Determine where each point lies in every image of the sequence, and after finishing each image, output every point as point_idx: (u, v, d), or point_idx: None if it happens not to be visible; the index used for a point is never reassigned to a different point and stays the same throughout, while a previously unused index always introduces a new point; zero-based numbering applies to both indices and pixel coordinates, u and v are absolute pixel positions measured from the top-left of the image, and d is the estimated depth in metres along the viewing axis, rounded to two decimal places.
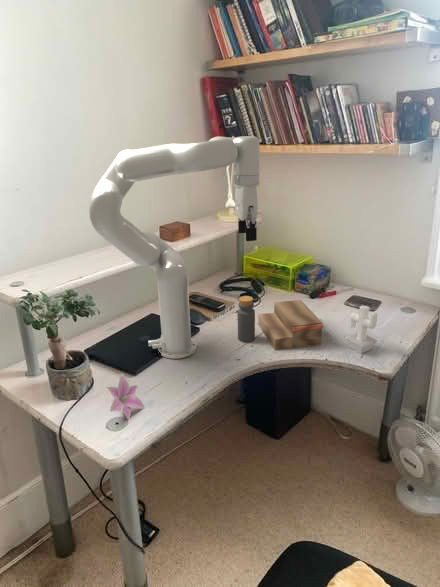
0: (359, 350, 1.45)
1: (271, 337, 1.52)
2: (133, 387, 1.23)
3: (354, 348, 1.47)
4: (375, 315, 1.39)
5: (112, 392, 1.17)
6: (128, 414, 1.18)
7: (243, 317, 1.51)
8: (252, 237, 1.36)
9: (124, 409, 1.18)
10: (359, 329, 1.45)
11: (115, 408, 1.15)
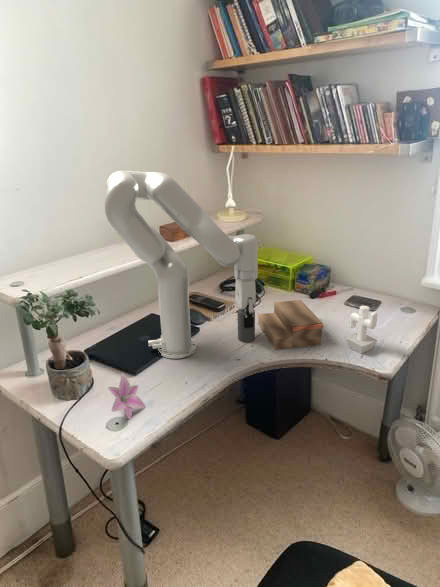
0: (359, 350, 1.45)
1: (271, 337, 1.52)
2: (134, 387, 1.23)
3: (354, 348, 1.47)
4: (375, 315, 1.39)
5: (113, 392, 1.17)
6: (129, 413, 1.18)
7: (243, 317, 1.51)
8: (249, 325, 1.50)
9: (125, 409, 1.18)
10: (359, 329, 1.45)
11: (116, 408, 1.15)
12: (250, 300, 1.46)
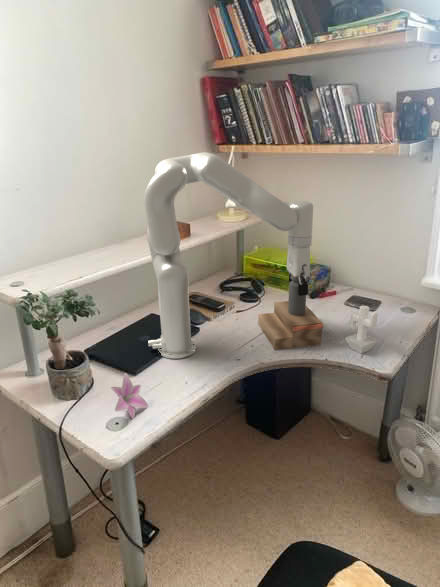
0: (359, 350, 1.45)
1: (271, 337, 1.52)
2: (136, 386, 1.23)
3: (354, 348, 1.47)
4: (375, 315, 1.39)
5: (116, 392, 1.17)
6: (132, 413, 1.18)
7: (295, 289, 1.51)
8: (304, 292, 1.48)
9: (128, 409, 1.18)
10: (359, 329, 1.45)
11: (120, 408, 1.15)
12: None
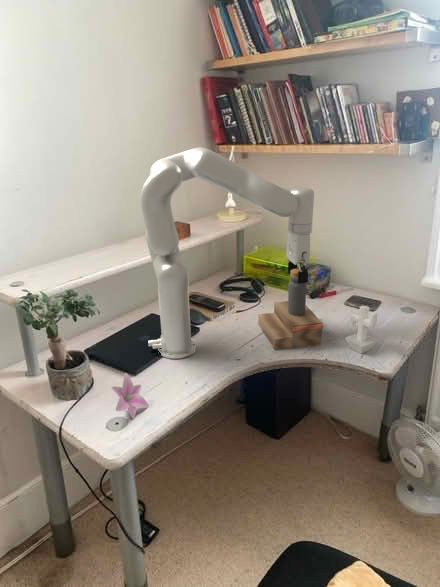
0: (359, 350, 1.45)
1: (271, 337, 1.52)
2: (137, 386, 1.23)
3: (354, 348, 1.47)
4: (375, 315, 1.39)
5: (117, 392, 1.17)
6: (132, 413, 1.18)
7: (295, 289, 1.51)
8: (304, 280, 1.46)
9: (129, 408, 1.18)
10: (359, 329, 1.45)
11: (120, 408, 1.15)
12: None
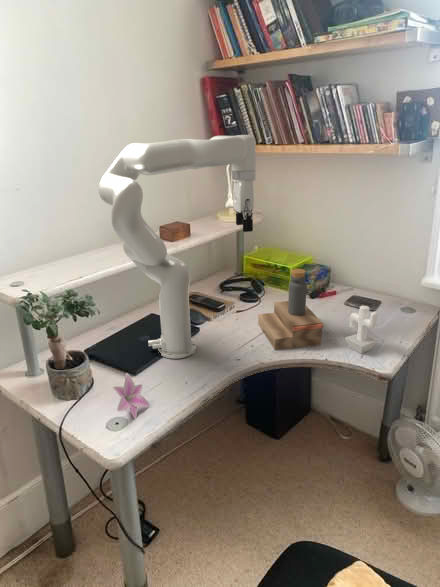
0: (359, 350, 1.45)
1: (271, 337, 1.52)
2: (138, 386, 1.23)
3: (354, 348, 1.47)
4: (375, 315, 1.39)
5: (118, 392, 1.17)
6: (134, 413, 1.18)
7: (295, 289, 1.51)
8: (248, 228, 1.47)
9: (130, 408, 1.18)
10: (359, 329, 1.45)
11: (122, 408, 1.15)
12: None
